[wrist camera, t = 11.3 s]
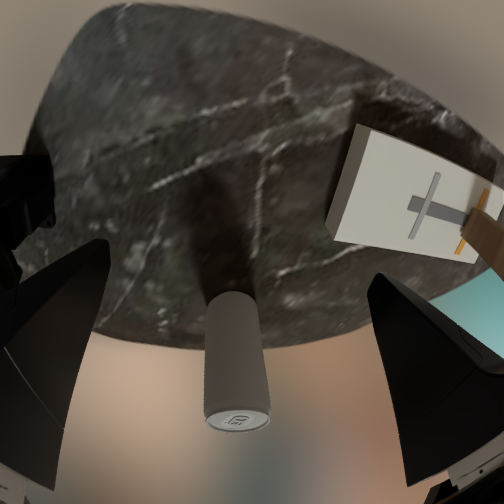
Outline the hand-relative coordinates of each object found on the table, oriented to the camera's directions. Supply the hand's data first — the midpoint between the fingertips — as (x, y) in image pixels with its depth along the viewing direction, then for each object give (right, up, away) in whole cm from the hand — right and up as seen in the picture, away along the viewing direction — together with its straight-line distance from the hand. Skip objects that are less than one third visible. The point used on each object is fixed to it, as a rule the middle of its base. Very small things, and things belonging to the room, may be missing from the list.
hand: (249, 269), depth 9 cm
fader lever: (+21, +3, +12) cm, 24 cm away
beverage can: (-2, -5, +19) cm, 20 cm away
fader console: (+16, +5, +14) cm, 21 cm away
